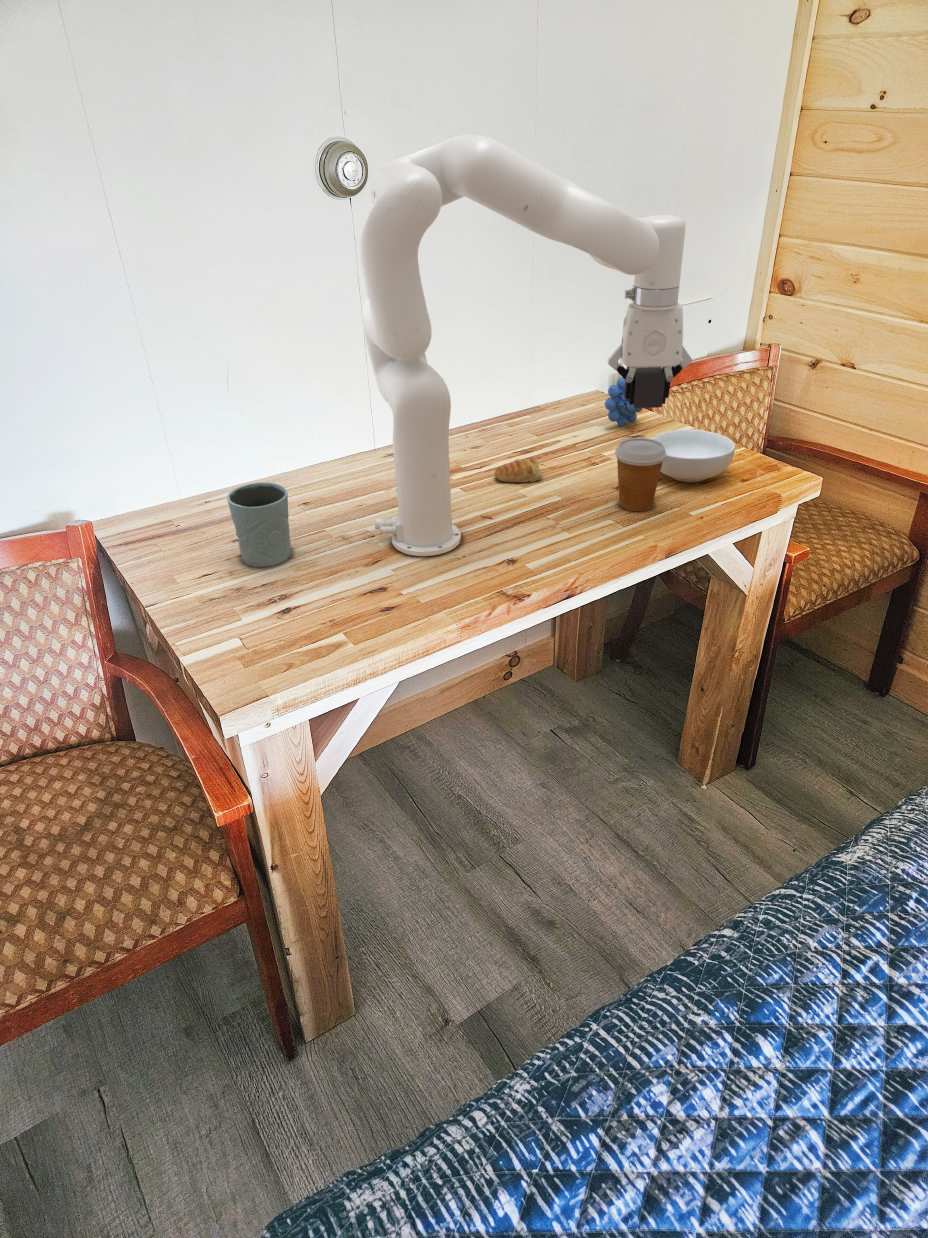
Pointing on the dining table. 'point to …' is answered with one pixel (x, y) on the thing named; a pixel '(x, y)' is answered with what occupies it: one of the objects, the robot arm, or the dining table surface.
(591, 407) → the dining table surface
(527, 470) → the pastry
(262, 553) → the grey embossed cup
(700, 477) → the cereal bowl
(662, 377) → the black block
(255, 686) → the dining table surface
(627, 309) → the robot arm
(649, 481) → the disposable coffee cup
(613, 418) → the grapes
